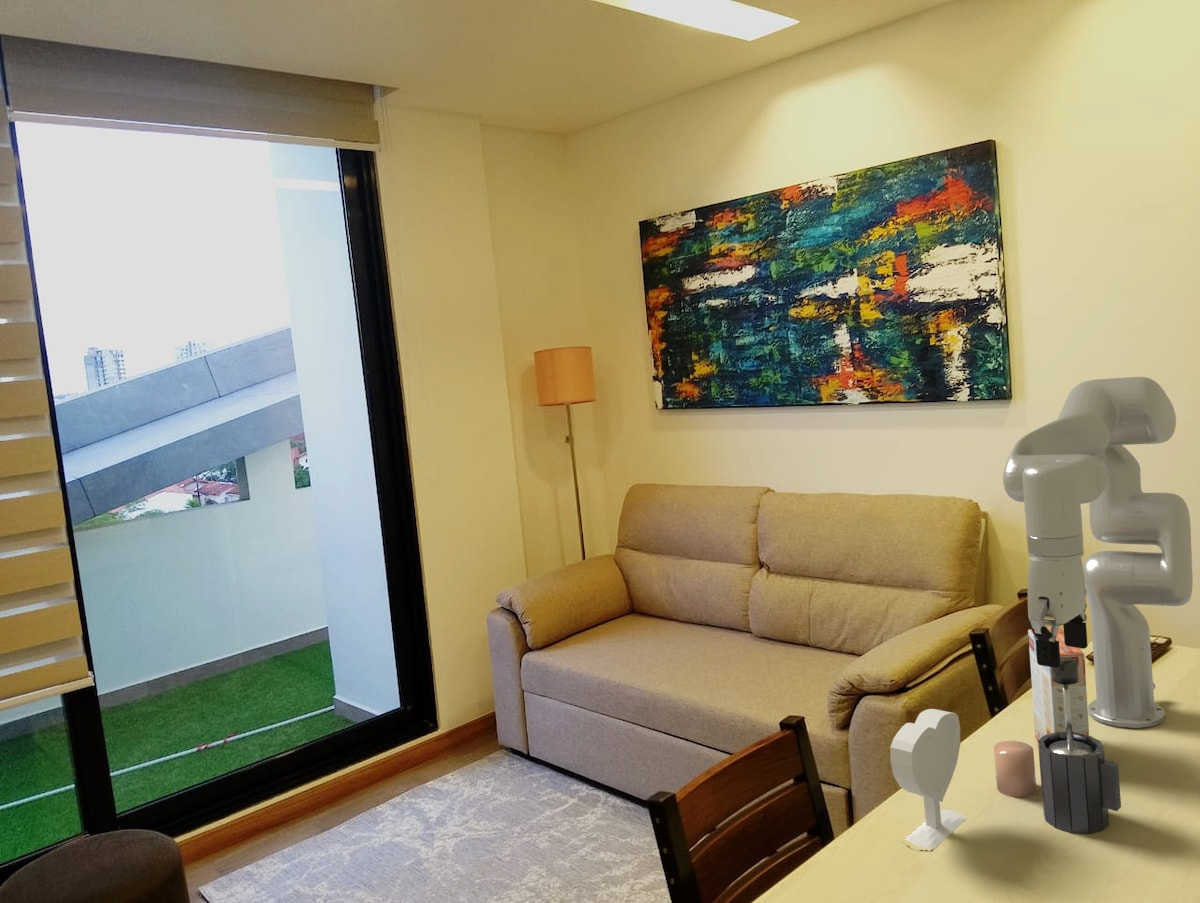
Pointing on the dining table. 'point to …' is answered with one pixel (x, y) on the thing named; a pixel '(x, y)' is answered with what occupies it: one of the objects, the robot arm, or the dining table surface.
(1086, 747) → the plunger
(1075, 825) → the grey paneled mug
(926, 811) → the heart sculpture
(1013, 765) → the pink rounded cylinder
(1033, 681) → the cracker box
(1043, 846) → the dining table surface
